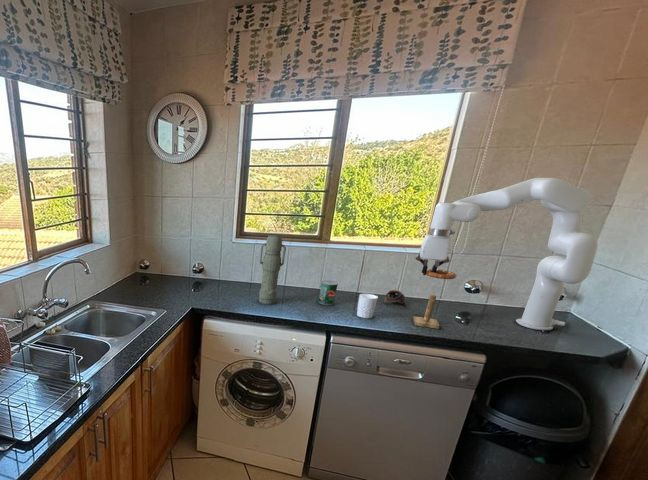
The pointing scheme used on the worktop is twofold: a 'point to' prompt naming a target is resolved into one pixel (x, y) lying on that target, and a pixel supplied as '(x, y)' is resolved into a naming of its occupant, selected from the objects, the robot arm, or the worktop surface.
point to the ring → (441, 274)
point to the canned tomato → (327, 292)
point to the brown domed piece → (394, 297)
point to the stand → (427, 316)
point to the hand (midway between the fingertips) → (428, 274)
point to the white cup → (366, 305)
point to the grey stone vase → (271, 268)
